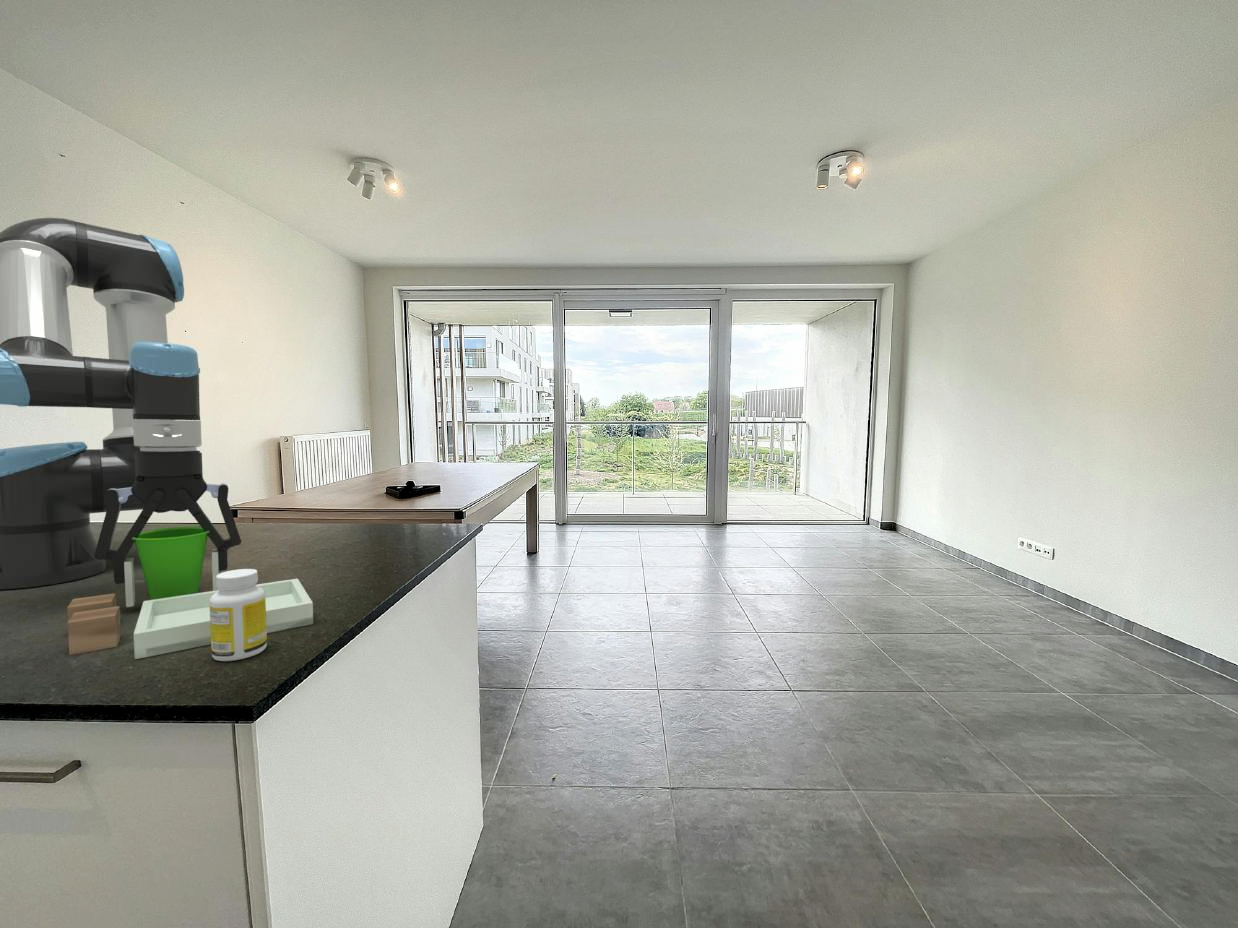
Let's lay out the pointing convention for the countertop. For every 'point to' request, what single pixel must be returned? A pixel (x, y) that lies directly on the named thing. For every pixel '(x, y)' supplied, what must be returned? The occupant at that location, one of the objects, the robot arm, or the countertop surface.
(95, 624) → the walnut block
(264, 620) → the supplement bottle
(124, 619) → the countertop surface
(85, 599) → the walnut block
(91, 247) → the robot arm
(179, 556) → the cup
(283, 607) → the tray
